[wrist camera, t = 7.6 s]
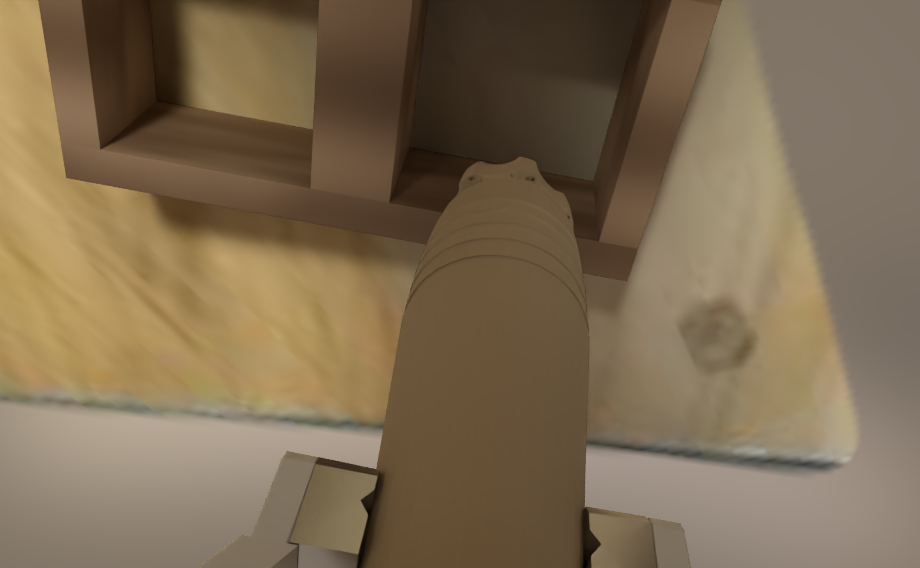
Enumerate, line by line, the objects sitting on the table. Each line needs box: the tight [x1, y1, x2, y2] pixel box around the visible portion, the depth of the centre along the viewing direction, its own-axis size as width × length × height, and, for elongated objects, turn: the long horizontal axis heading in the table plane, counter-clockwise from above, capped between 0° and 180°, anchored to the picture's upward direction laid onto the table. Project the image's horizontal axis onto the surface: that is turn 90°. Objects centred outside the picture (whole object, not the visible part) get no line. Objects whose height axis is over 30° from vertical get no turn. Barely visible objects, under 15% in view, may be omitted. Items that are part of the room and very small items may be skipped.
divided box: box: [38, 0, 722, 281], centre depth 28 cm, size 12×22×5 cm, turn 81°
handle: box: [359, 157, 589, 568], centre depth 15 cm, size 5×6×15 cm
